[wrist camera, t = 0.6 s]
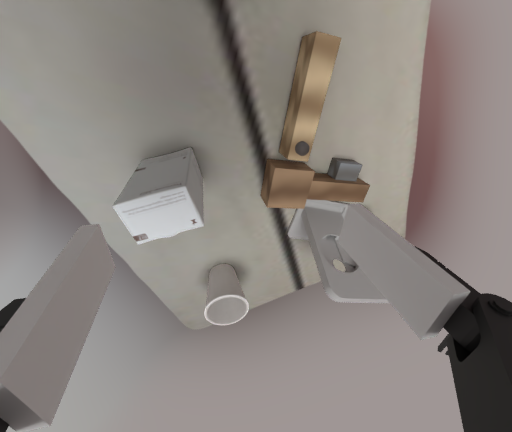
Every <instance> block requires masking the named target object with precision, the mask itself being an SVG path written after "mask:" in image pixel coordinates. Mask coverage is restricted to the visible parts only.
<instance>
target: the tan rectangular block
mask: <svg viewBox="0 0 512 432" xmlns="http://www.w3.org/2000/svg"><path fill="white" fill-rule="evenodd" d="M340 42H341V38H340V37H336V36H332V35H329V34H325V33H321V32H318V31H316V32H314V33H311V34H309V35H306V36H304V37H302V42H301V47H300V52H299V57H298V61H297V66H296V71H295V76H294V81H293V86H292V91H291V95H290V100H289V105H288V110H287V115H286V120H285V125H284V129H283V134H282V139H281V144H280V149H279V152H280V153H281V154H282V155H283V156H284V157H285V158H286V159H288V160H297V161H307V162H308V159H309V156H310V152H311V148H312V145H313V141H314V137H315V134H316V130H317V126H318V123H319V119H320V115H321V112H322V108H323V104H324V101H325V97H326V93H327V89H328V86H329V82H330V78H331V75H332V71H333V67H334V64H335V60H336V56H337V53H338V49H339V45H340Z"/></svg>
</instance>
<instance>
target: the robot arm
mask: <svg viewBox="0 0 512 432" xmlns="http://www.w3.org/2000/svg"><path fill="white" fill-rule="evenodd" d="M338 242H339V243H340V245H341V246H342V247H343V248H344V249H345V251H346V252H347V253H348V254H349V255H350V257H351V258H352V259H353V260H354V261H355V262H356V264H357V265H358V266H359V267H360V268H361V270H362V271H363V272H364V273H365V274H366V275H367V277H368V278H369V279H370V280H371V281H372V283H373V284H374V285H375V286H376V287H377V289H378V290H379V291H380V292H381V293H382V294H383V296H384V297H385V298H386V299H387V300H388V302H389V303H390V304H391V305H392V306H393V307H394V309H395V310H396V311H397V312H398V313H399V315H400V316H401V317H402V318H403V319H404V320H405V322H406V323H407V324H408V325H409V326H410V328H411V329H412V330H413V331H414V332H415V333H416V335H417V336H418V337H419V338H420V340H423V339H427V338H431V337H435V336H437V335H438V333H439V332H440V331H441V329H442V328H443V327H444V329H446V330H447V332H448V333H449V334H448V335H447V336H446V338H445V339H444V340H443V341H442V343H441V344H440V345H439V346H438V351H439V352H441V351H442V350H443V349H444V348H445V347H446V346H447V347H448V351H447V352H446V355H449V357H450V363H451V368H452V373H453V378H454V383H455V388H456V393H457V398H458V403H459V408H460V413H461V419H462V423H463V429H464V432H512V303H511V302H510V301H508V300H506V299H504V298H502V297H499V296H497V295H493V294H480V293H479V292H477V291H476V290H475V289H474V288H472V287H471V286H469V285H468V284H467V283H466V282H465V281H463V280H462V279H461V278H459V277H458V276H457V275H456V274H454V273H453V272H452V271H450V270H449V269H448V268H445V266H444V265H442V264H441V263H440V262H437V260H436V259H435V258H434V257H432V256H431V255H430V254H428V253H427V252H425V251H423V250H421V249H419V248H417V247H416V246H413V245H412V244H410V243H409V242H408V241H407V240H405V239H404V238H403V237H402V236H400V235H399V234H398V233H397V232H395V231H394V230H393V229H392V228H390V227H389V226H388V225H386V224H385V223H384V222H383V221H381V220H380V219H379V218H378V217H376V216H375V215H374V214H373V213H371V212H370V211H369V210H368V209H366V208H365V207H364V206H363V205H361V204H360V203H359V204H348V208H347V211H346V215H345V218H344V222H343V225H342V229H341V232H340V236H339V239H338ZM115 268H116V267H115V264H114V262H113V259H112V256H111V254H110V251H109V248H108V246H107V243H106V240H105V238H104V235H103V233H102V230H101V227H100V225H99V224H96V225H83V226H80V228H79V229H78V231H77V232H76V233H75V234H74V236H73V237H72V238H71V239H70V241H69V242H68V243H67V245H66V246H65V247H64V249H63V250H62V251H61V253H60V254H59V255H58V257H57V258H56V259H55V261H54V262H53V263H52V265H51V266H50V267H49V269H48V270H47V271H46V273H45V274H44V275H43V277H42V278H41V279H40V281H39V282H38V283H37V285H36V286H35V287H34V289H33V290H32V291H31V293H30V294H29V295H28V297H27V298H23V299H16V300H13V301H12V302H11V303H10V304H8V305H7V306H6V307H4V308H3V309H2V310H1V311H0V432H6V430H7V428H8V426H10V427H11V428H12V429H14V430H15V431H17V432H27V431H32V430H36V429H40V428H44V427H48V426H50V425H51V423H52V420H53V418H54V416H55V413H56V411H57V408H58V406H59V404H60V401H61V399H62V396H63V394H64V391H65V389H66V387H67V384H68V382H69V380H70V377H71V374H72V372H73V370H74V367H75V365H76V362H77V360H78V358H79V355H80V353H81V350H82V348H83V346H84V343H85V341H86V338H87V336H88V333H89V331H90V328H91V326H92V324H93V321H94V319H95V316H96V314H97V312H98V309H99V307H100V304H101V302H102V299H103V297H104V295H105V292H106V290H107V287H108V285H109V283H110V280H111V278H112V275H113V273H114V270H115Z"/></svg>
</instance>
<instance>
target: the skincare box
mask: <svg viewBox="0 0 512 432" xmlns="http://www.w3.org/2000/svg"><path fill="white" fill-rule="evenodd" d="M112 207H113V208H114V210H115V212H116V213H117V215H118V216H119V217H120V219H121V220H122V222H123V223H124V225H125V226H126V228H127V229H128V230H129V232H130V233H131V235H132V236H133V238H134V239H135V241H136V242H137V244H142V243H145V242H149V241H152V240H155V239H159V238H166V237H172V236H174V235H176V234H178V233H180V232H183V231H187V230H190V229H194V228H199V227H203V226H204V218H203V177H202V174H201V171H200V169H199V166H198V163H197V160H196V158H195V155H194V152H193V150H192V148H191V147H189V148H186V149H184V150H180V151H177V152H174V153H170V154H166V155H163V156H158V157H154V158H149V159H144V160H142V161H141V163H140V164H139V166H138V167H137V169H136V170H135V172H134V174H133V175H132V177H131V178H130V180H129V181H128V183H127V184H126V186H125V188H124V189H123V191H122V192H121V194H120V195H119V197H118V198H117V200H116V201H115V203H114V205H113V206H112Z"/></svg>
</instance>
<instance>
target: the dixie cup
mask: <svg viewBox="0 0 512 432" xmlns="http://www.w3.org/2000/svg"><path fill="white" fill-rule="evenodd" d="M248 310H249V304H248V301H247V300H246V298H245V296H244V293H243V291H242V288H241V285H240V283H239V280H238V278H237V275H236V272H235V270H234V268H233V267H232V266H231V265H229V264H219V265H216V266H214V267H213V268H212V269H211V271H210V273H209V282H208V292H207V301H206V308H205V310H204V315H205V318H206V319H207V320H208V321H209V322H211V323H213V324H216V325H229V324H233V323H235V322H237V321H239V320H241V319H242V318H243V317H244V316H245V315H246V314H247V312H248Z"/></svg>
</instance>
